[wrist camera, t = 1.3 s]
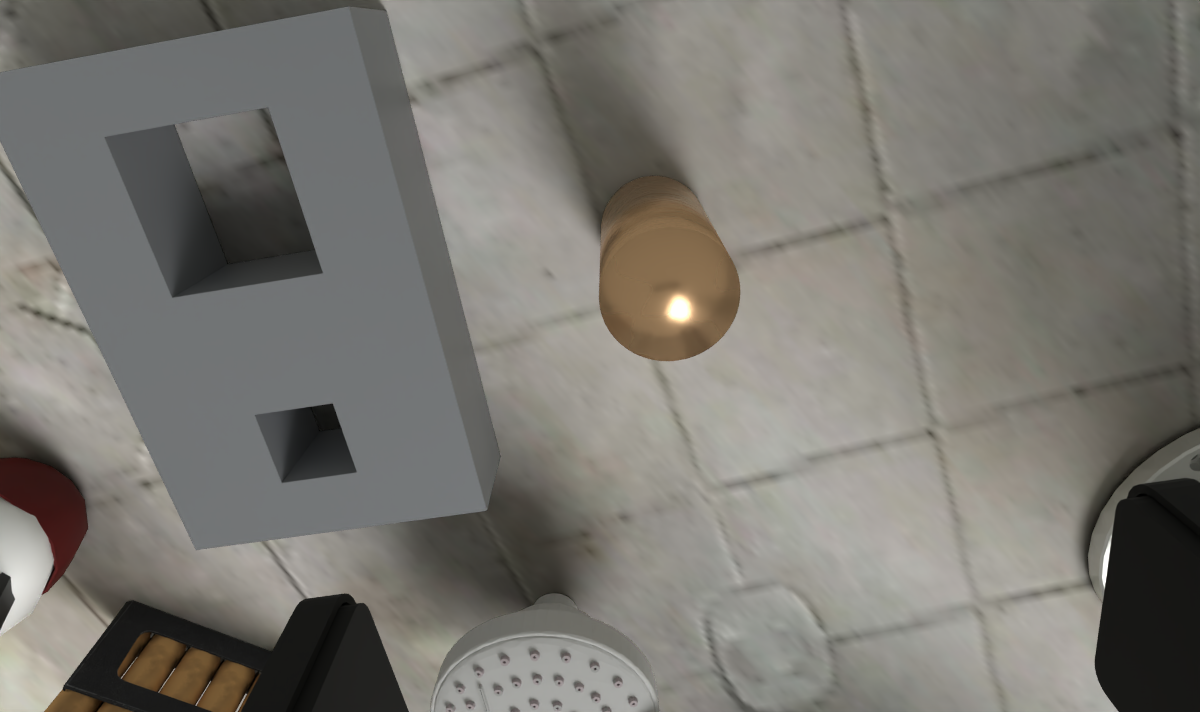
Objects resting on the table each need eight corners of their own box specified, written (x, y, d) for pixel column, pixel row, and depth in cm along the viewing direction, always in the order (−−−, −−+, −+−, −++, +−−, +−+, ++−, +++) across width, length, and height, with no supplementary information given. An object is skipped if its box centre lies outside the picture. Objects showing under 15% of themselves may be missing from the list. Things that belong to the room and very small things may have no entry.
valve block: (386, 10, 25) (348, 6, 21) (500, 456, 32) (486, 510, 28) (59, 72, 26) (-30, 78, 22) (241, 493, 33) (195, 549, 29)
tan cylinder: (699, 167, 27) (733, 216, 20) (710, 270, 29) (746, 350, 21) (593, 185, 27) (587, 239, 20) (609, 285, 29) (611, 370, 22)
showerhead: (678, 816, 31) (443, 824, 31) (665, 677, 37) (471, 685, 38) (673, 646, 27) (405, 658, 27) (660, 526, 34) (445, 536, 34)
